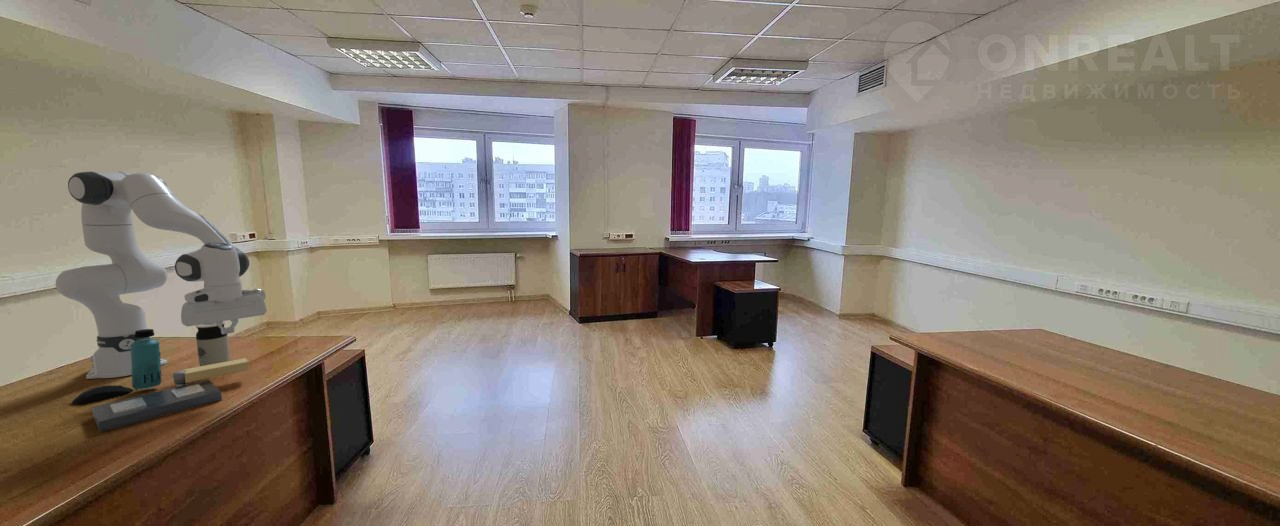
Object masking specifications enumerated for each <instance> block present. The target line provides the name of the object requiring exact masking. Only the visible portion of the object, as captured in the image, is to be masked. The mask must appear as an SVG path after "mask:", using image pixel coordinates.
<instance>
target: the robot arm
mask: <svg viewBox="0 0 1280 526" xmlns="http://www.w3.org/2000/svg"><path fill="white" fill-rule="evenodd" d="M67 190H68V192H69V194H70V196H71V197H72V198H73V199H74V200H76V202H78V203H81V218H80V219H81V224H82V225H81V227H82V233H83V241H84V245H85V247H86V248H87V249H88V250H90V251H91V252H93V253H94V252H95V253H96V254H97V253H98V254H101V255H105V256H108V257H109V259H111V263H109V264H99V265H98V264H97V265H88V266H86V265H85V266H80V267H76V268H71V269H67V270H63V271H61V272H60V274H59V275H57V277H56V280H55V288H56V290H57V292H58V293H59V294H60V295H62V296H64V297H65V298H68V299H70V300H73V301H76V302H78V303H80V304H82V305H83V306H85V307H86V308H87V309H88V310H89V311H90V312H91V314H92V315H93V317H94V321H95V324H96V329H97V330H96V331H97V334H98V335H97V336H96V343H97V346H98V349H97V350H96V351H94V353H93V354H92V355H90V356H89V359H90V363H92V365H91V368H90V370H89V372H88V373H87V374H86V375H85V376H86V377H85V379H86V380H89V379H90V380H91V379H113V378H121V377H127V376H132V373H131V372H132V371H131V370H132V362H131V347H130V345H131V344H132V343H134V342H135V341H137V340H142V339H151V337H144V338H135V331H138V330H143V329H148V328H147V320H146V313H145V311H144V309H143V308H142V307H141V306H139V305H137V304H132V303H126V302H123V301H122V300H121V298H120V295H125V294H135V293H140V292H147V291H151V290H155V289H158V288H160V287H161V288H162V286H164V285H165V284H166V282H167V280H168V272H167V270H166V268H165V267H164V266H163V265H162V264H160V263H159V262H156V261H154V260H151V258H148V257H147V256H146V255H145V254H144V253H143V251H141V249H140V248H139V245H138V243H137V239H136V234H135V228H134V221H133V217H132V212H133V213H134V215H135V216H136V217H137V218H138V219H139V220H140V221H141V222H142V223H143V224H145V225H147V226H148V227H151V228H153V229H154V228H155V229H158V230H163V231H164V230H165V231H171V232H177V233H181V234H182V233H183V234H187V235H190V236H193V237H195V238H197V239H199V240H200V241H201V242H202V245H201V247H200V248H199V249H197V250H195V251H192V252H188V253H182V254H181V255H179V257H178V258H177V259H176V261H175V263H174V269H175V273H176V275H177V276H178V277H179V278H180V279H182V280H183V281H186V282H193V283H194V282H195V283H197V282H203V287H202V288H201V289H197V290H195V291H191V292H188V293H186V294H185V295H184V300H185V302H184V303H183V304H182V307H181V310H180V311H181V312H180V318H181V319H180V320H181V323H182V325H183V326H185V327H193V326H196V325H201V324H207V323H214V322H215V323H216V325H217V326H218V327H219V328H220V329H221V333H222V334H233V333H235V332H236V331H235V327H236V326H237V325H238V323H239V319H246V318H252V317H259V316H265V314H266V313H267V312H268V311H267V306H266V302H265V300H266V292H265V291H264V290H262V289H260V288H254V289H245V290H244V289H243V288H242V287H243V286H242V280H241V277H242V276H244V275H245V273H246V272H247V271H248V270H249V267H250V259H249V257H248V256H247V254H246V253H245V252H244V251H242V250H240V248H238V247H236V246H235V245H234V244H233V243H232V242H230V241H229V239H227V237H225V236H224V234H222V232H221V231H219V230H218V228H217V227H215V225H214V224H212V222H210V220H208V219H207V218H206V217H205V216H204V215H201V214H199V213H198V212H195V211H194V210H192V209H191V208H189V207H187V206H186V205H185V204H184V203H183V202H181V201H180V200H179V198H178V197H177V195H175V193H174V192H173V191H172V189H170V187H169V186H168V185H167V183H166V182H165V180H164V179H162V178H161V177H160V176H157V175H154V174H151V173H148V172H135V173H134V172H128V171H127V172H126V171H115V172H114V171H113V172H111V171H110V172H109V171H108V172H107V171H104V172H103V171H102V172H101V171H99V172H95V171H81V172H75V173H74V174H72V176H70V178H69V179H68V182H67ZM223 321H224V322H226V321H230V322H231V325H230V326H228V327H227V326H226V327H225V326H224V327H222V326H221V325H222V324H223ZM160 364H161V366H163V365H165V364H168V360H167V359H164V358H160Z"/></svg>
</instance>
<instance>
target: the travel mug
mask: <svg viewBox="0 0 1280 526" xmlns="http://www.w3.org/2000/svg"><path fill="white" fill-rule="evenodd" d="M225 324H226V321H223V324H222V325H221V326H222V327H224V328H225ZM195 328H196V329H197V332H196V333H195V339H196V347H197V348H196V349H197V354H198V357H197V358H198V363H199V367H200V366H205V365H211V364H216V363H222V362H227V361H231V356H230V355H231V354H230V353H231V352H230V343H229V336H228V334H229V333H228V334H222V333H221V329H220V328H219V327H218V326H217V325H216V323H215V322H214V323H207V324H201V325H195Z"/></svg>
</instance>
